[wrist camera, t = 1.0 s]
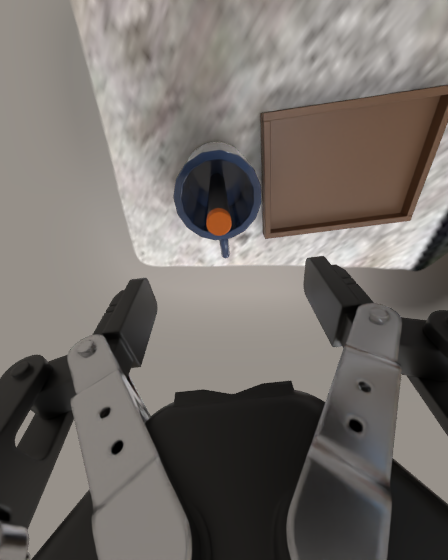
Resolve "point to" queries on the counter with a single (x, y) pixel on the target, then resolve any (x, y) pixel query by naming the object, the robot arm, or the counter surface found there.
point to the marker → (218, 207)
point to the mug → (238, 183)
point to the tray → (349, 161)
